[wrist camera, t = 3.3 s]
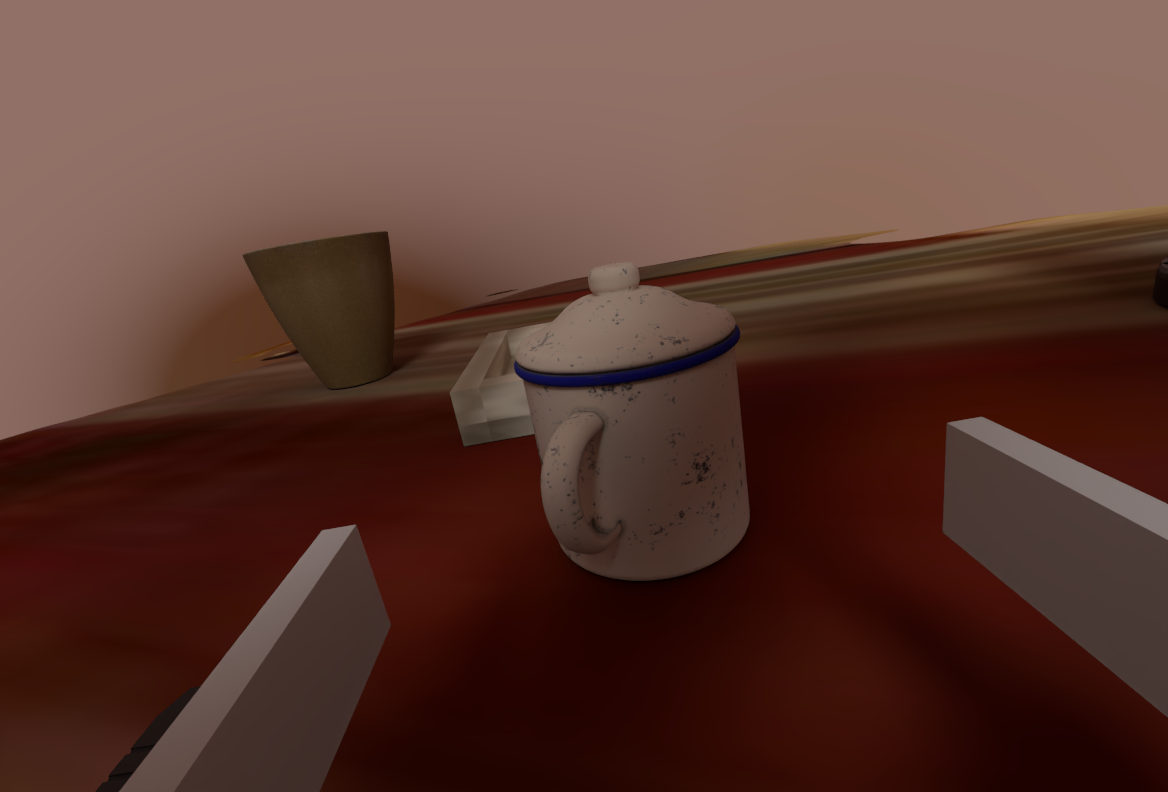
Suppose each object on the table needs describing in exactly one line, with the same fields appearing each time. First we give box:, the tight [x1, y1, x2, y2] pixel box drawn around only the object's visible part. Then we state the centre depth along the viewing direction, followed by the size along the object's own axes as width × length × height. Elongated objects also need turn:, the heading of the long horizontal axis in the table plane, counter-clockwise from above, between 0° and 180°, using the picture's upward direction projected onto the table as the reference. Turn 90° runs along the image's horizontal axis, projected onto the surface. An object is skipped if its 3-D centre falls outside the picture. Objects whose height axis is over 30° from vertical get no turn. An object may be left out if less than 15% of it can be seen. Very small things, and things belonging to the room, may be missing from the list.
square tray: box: [450, 322, 552, 446], centre depth 47 cm, size 17×20×4 cm
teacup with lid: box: [514, 262, 750, 581], centre depth 22 cm, size 12×9×12 cm
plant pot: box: [243, 231, 395, 389], centre depth 63 cm, size 15×15×16 cm
